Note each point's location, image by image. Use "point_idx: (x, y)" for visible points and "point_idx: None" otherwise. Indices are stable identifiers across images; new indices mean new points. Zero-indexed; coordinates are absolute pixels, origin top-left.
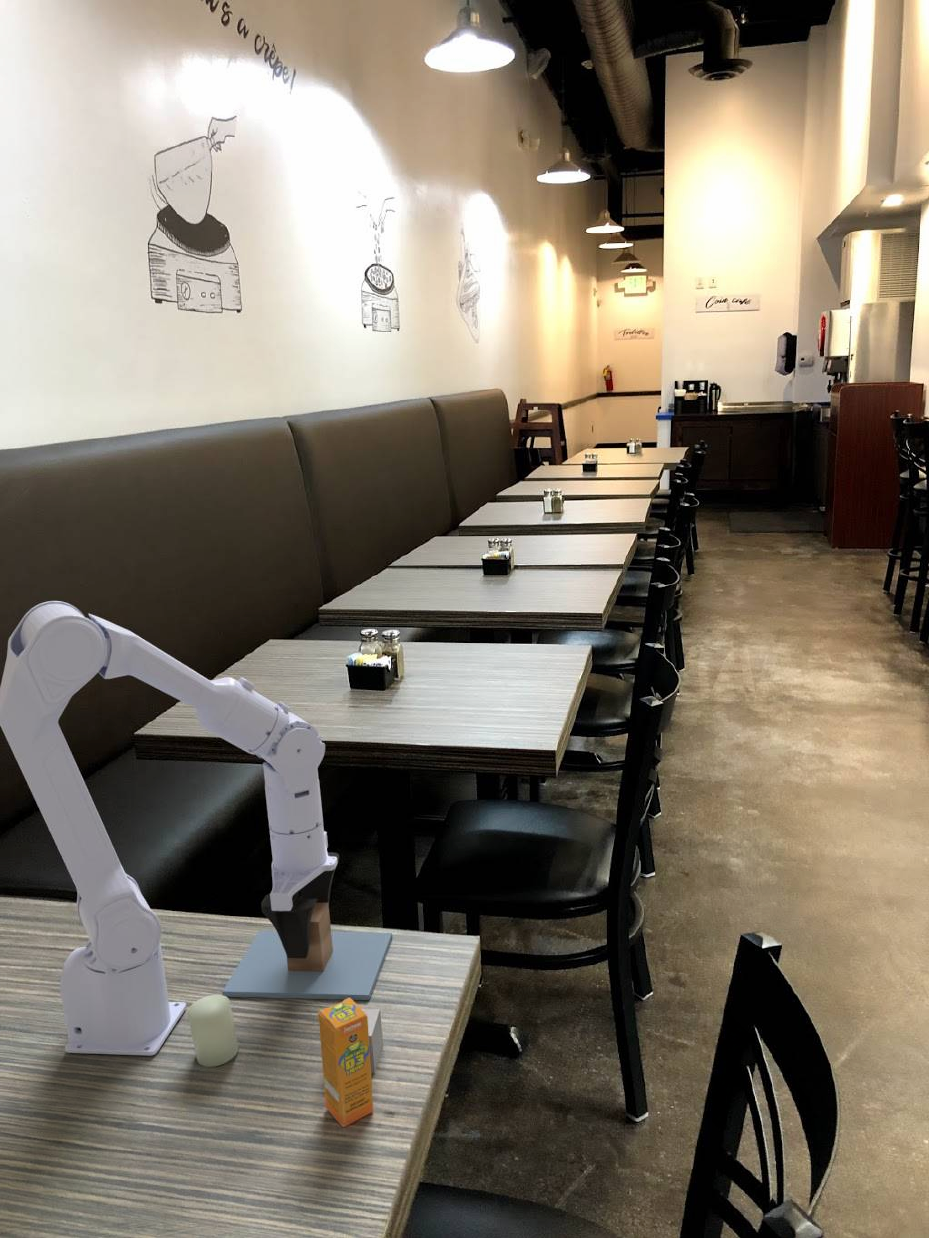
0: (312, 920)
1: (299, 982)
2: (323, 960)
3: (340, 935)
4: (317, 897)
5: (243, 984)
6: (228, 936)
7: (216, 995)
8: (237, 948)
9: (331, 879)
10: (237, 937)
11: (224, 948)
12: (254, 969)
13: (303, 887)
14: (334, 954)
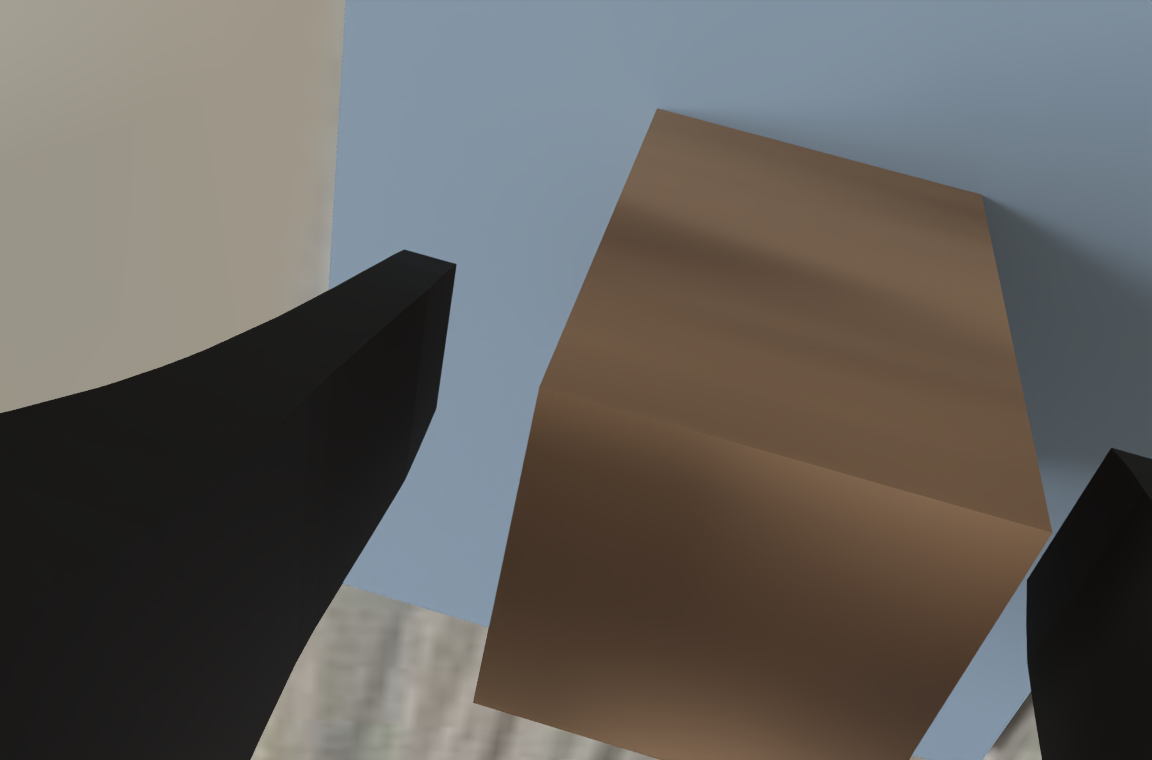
0: (982, 590)
1: (1073, 379)
2: (959, 229)
3: (403, 38)
4: (341, 470)
5: None
6: (332, 682)
7: None
8: (461, 654)
9: (142, 435)
10: (344, 648)
11: (454, 704)
12: None
13: (273, 680)
14: (716, 95)
